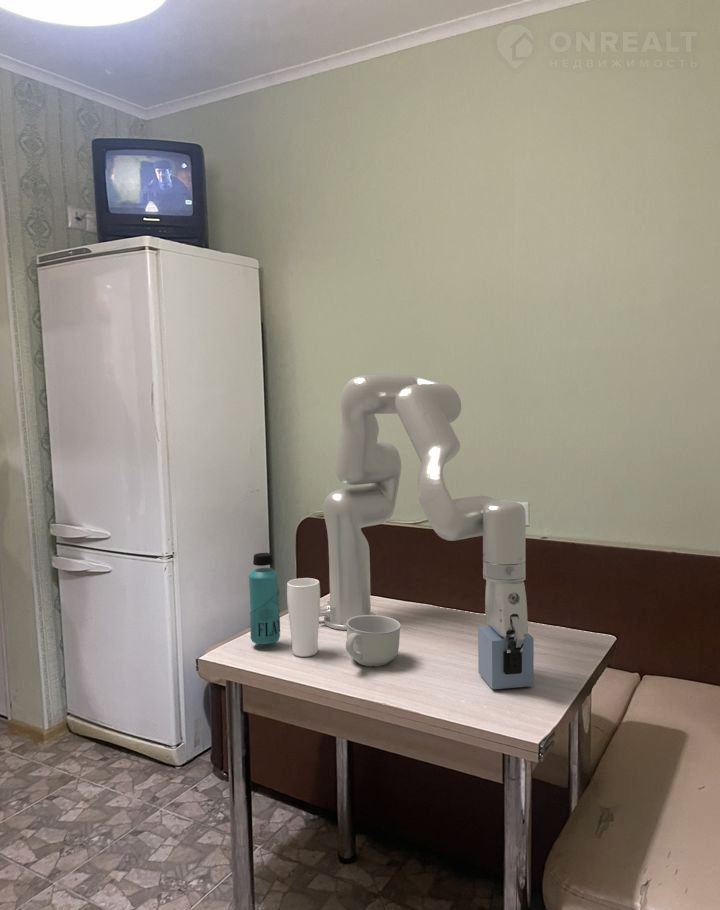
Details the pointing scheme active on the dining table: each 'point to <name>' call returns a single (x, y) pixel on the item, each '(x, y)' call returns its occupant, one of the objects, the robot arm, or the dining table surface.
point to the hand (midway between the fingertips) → (504, 663)
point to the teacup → (372, 639)
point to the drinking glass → (304, 615)
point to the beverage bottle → (264, 601)
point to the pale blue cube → (493, 660)
